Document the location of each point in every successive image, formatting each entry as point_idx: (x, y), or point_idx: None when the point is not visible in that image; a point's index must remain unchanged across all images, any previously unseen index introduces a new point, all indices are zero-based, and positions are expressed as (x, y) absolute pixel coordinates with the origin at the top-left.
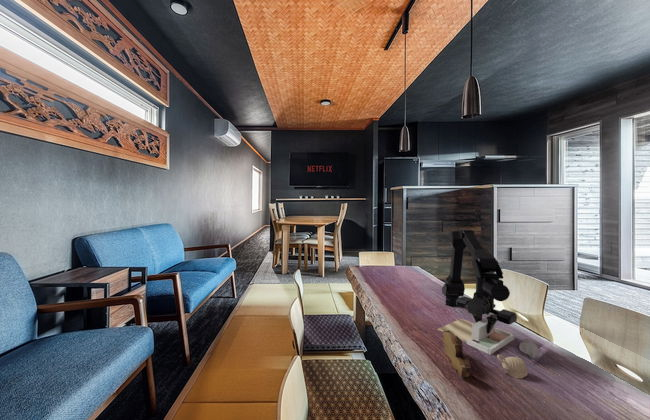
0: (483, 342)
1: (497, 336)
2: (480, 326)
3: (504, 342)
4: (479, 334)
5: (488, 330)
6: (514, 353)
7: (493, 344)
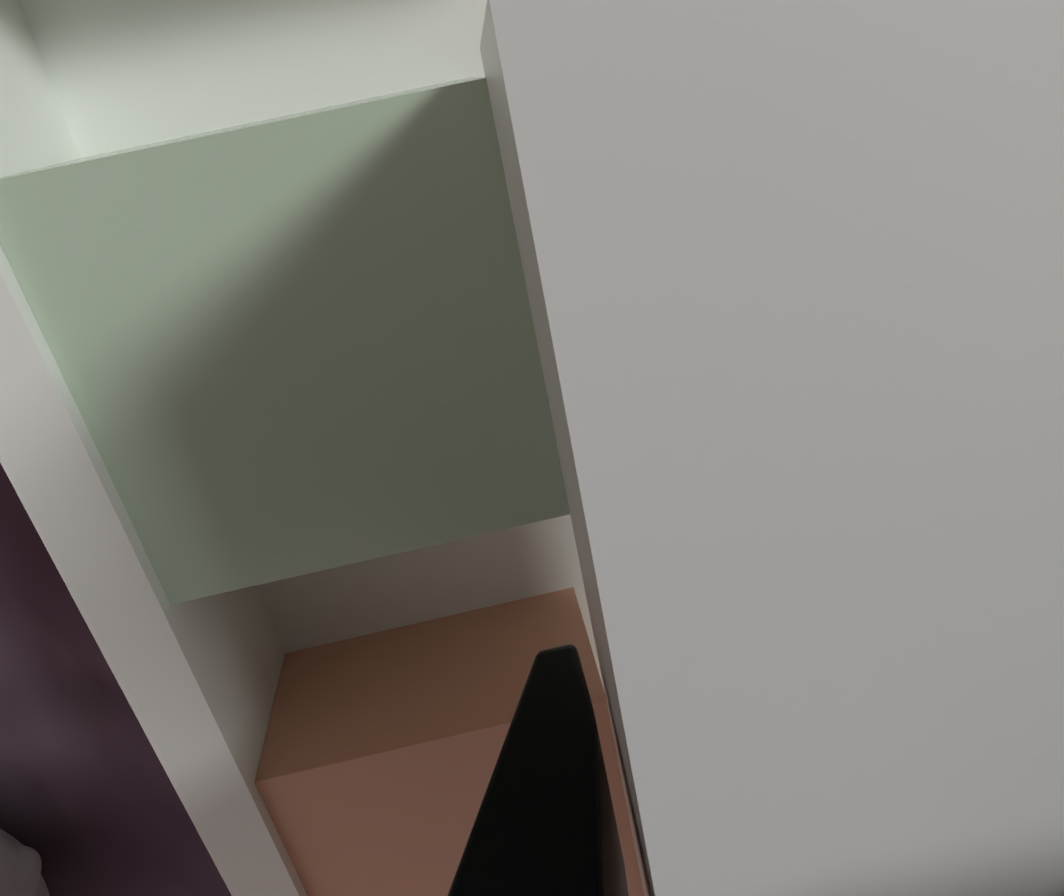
0: (314, 122)
1: (451, 810)
2: (642, 393)
3: (178, 751)
4: (497, 113)
5: (526, 733)
6: (45, 685)
7: (103, 354)
